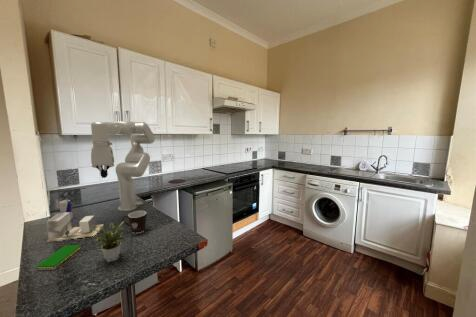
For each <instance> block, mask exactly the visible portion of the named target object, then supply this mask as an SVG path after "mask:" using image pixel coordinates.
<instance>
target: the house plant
mask: <svg viewBox="0 0 476 317" xmlns="http://www.w3.org/2000/svg"><path fill="white" fill-rule="evenodd" d="M124 222H126V220H124V221H123V220H122V222H121V223H120V224H119V225H118V226H116V225H114V222H112V221H111V222H110V224H109V226H108V227H109V229H108V231H106V229H105V228H104V226H101V224H99V225H100V226H101V227H100V226H99V228H101V230H100V231H97V230H95V229H93V230H95V231H97V232H98V234H99V235H98V234H96V236H97V237H94V236H93V237H92V238H94V242H102V243H101V244H100V245H101V248H100V249H101V253H102V254H103V258H104V259H105V258H106V259H110V258H114V257H116V256H118V255H119V254H121V246H122V242H124V238H123V236H122V234H123V231H120V232H119V230H123V229H124V228H125V227H122V225H123V224H125V223H124ZM115 227H116V229H114V228H115ZM101 231H102V232H103V233H102V232H101ZM100 235H101V236H102V237H101V236H100ZM98 245H99V243H96V246H98Z"/></svg>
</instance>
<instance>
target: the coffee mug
mask: <svg viewBox="0 0 476 317" xmlns="http://www.w3.org/2000/svg"><path fill="white" fill-rule="evenodd" d="M125 218H127V219H128V220H129V223H127V222H126V221H125ZM121 220H122V222H123V221H125V222H124V223H123V224H125V225H126V226H128V227H130V231H131V233H132V232H135V233H136V232H141V231H143V230H145V231H146V226H147V224H146V223H147V211H145V210H136V211H131V213H128V215H125V216H123V217H122V219H121Z"/></svg>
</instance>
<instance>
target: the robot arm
mask: <svg viewBox="0 0 476 317" xmlns="http://www.w3.org/2000/svg"><path fill="white" fill-rule="evenodd" d="M90 126H91V127H90V128H91V139H92V140H91V141H92V146H93V147H92V148H91V152H90V161H91V168H95V169H97V170H99V173H100V174H99V175H100V177H101V178H102V179H105V178H107V177H108V174H109V173H108V170H109V169H110V168H113V167H115V175H116V177H117V181H118V182H117V184H118V195H119V206H118V207H117V210H118V211H120V212H129V211H130V212H131V211H133V210H136V209H138V208H139V206H141V205H143V201H142V200H140V201H139V200H138V199H137V197H136V186H135V185H136V183H135V180H134V178H139V177H142V176H143V175H144V174H145V172H146V170H147V168H148V166H149V164H150V162H151V156H150V154H149V153H148V152H145V151H144V148H143V146H142V145H141V144H143V145H144V144H145V145H151V144H153V143H154V142H155V138H156V137H155V135H154V133H153V131H152V129H151V127H150V126H149V125H148V123H146V122H145V121H92V123H91V124H90ZM117 135H118V136H119V135H120V136H123V135H125V136H126V135H130V144H131V148H130V150H129V152H128V153H127V154H126V156H125V158H124V162H119V163H118V164H117V165H116V166H115V164H114V163H115V157H114V156H115V155H114V152H113V148H112V145H113V142H110V137H109V136H117Z"/></svg>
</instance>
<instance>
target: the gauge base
mask: <svg viewBox="0 0 476 317" xmlns="http://www.w3.org/2000/svg"><path fill="white" fill-rule="evenodd" d="M100 225H101V226H103V227H104V223H102V224H96V226H95V227H94V229H95V230H97V231H99V232H101V231H102V230H101V228H99V226H100ZM66 226H67V230H68V231H70V233H69V234H68V236H67V235H65V233H66V232H67V231H66ZM101 226H100V227H101ZM46 229H47V236H48V239H47V240H46V243H47V242H48V243H55V242H54V241H57V242H64V241H63V240H65V241H71V240H70V239H74V240H78V239H77V238H83V239H86V238H85V237H92V236H95V235H96V234H97V233H98V232H97V231H95V230H92V231H91V232H87V233H80V234H78V231H79V230H80V226H74V227H72V220H71V219H70V212H65V213H60V212H58V213H57V214H55V215H54V216H52V217H51V218H49V219H48V220H47V221H46ZM98 234H99V233H98ZM98 234H97V235H98ZM97 235H96V236H97ZM96 236H95V237H96ZM92 238H93V237H92Z"/></svg>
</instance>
